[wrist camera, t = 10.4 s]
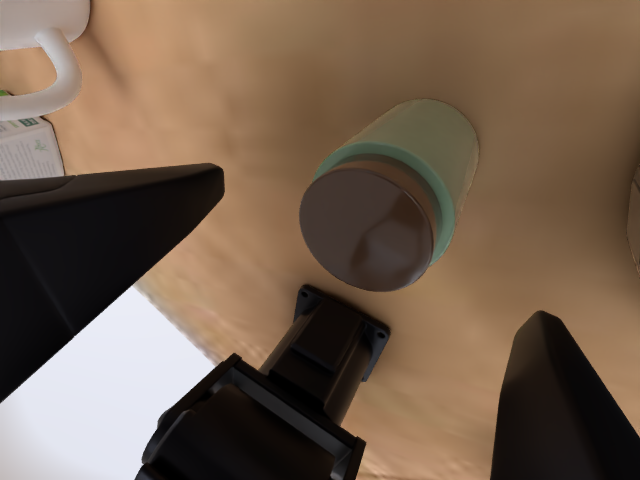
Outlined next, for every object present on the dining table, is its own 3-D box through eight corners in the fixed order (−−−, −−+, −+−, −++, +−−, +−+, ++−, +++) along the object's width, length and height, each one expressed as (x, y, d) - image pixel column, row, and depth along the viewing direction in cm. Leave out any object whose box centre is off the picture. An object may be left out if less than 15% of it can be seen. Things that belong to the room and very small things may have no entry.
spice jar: (450, 220, 15) (410, 323, 10) (358, 183, 16) (284, 259, 11) (502, 119, 12) (480, 199, 7) (384, 83, 13) (298, 131, 8)
